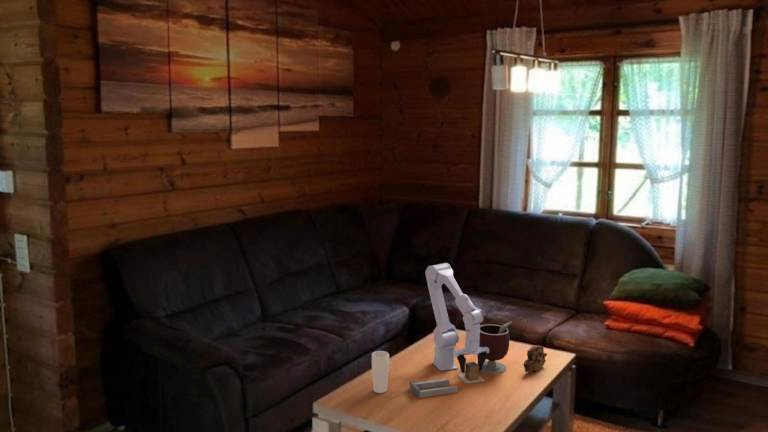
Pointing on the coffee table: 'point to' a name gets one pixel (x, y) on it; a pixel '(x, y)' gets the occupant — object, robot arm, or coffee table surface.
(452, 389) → the channel
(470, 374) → the block
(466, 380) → the pad
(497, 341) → the mate gourd
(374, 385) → the drinking glass
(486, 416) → the coffee table surface
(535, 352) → the wooden carving
